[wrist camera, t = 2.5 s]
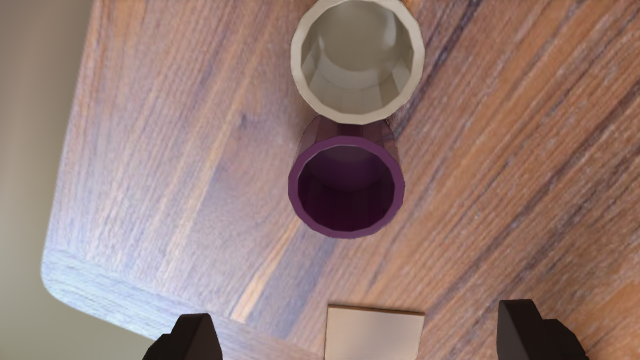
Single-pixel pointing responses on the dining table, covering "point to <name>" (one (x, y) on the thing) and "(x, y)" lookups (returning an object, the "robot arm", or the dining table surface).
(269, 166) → the dining table surface
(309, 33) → the cream dish
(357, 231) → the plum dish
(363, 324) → the coaster
